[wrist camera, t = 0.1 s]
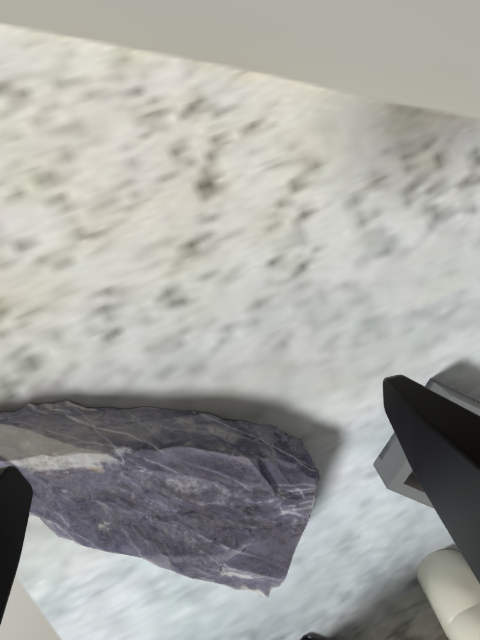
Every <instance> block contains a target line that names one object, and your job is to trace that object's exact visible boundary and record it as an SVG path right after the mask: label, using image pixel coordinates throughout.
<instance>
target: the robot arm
mask: <svg viewBox="0 0 480 640" xmlns="http://www.w3.org/2000/svg"><path fill="white" fill-rule="evenodd" d="M383 399H384V408H385V411H386V414H387V416H388V419H389V421H390V423H391V425H392V427H393V430H394V432H395V434H396V436H397V438H398V440H399V443H400V445H401V447H402V449H403V451H404V454H405V456H406V458H407V460H408V462H409V464H410V466H411V469H412V471H413V473H414V475H415V476H416V478H417V480H418V482H419V483H420V485H421V487H422V489H423V490H424V492H425V494H426V495H427V497H428V499H429V500H430V502H431V504H432V505H433V507H434V509H435V510H436V512H437V514H438V515H439V517H440V519H441V520H442V522H443V524H444V525H445V527H446V529H447V530H448V532H449V534H450V535H451V537H452V539H453V540H454V542H455V544H456V545H457V547H458V549H459V550H460V552H461V554H462V555H463V557H464V559H465V560H466V562H467V564H468V565H469V567H470V569H471V570H472V572H473V574H474V575H475V577H476V579H477V580H478V582H479V584H480V416H479V415H477V414H476V413H474V412H472V411H470V410H468V409H466V408H464V407H462V406H460V405H459V404H457V403H455V402H453V401H451V400H449V399H447V398H445V397H443V396H442V395H440V394H438V393H436V392H434V391H432V390H430V389H428V388H426V387H425V386H423V385H421V384H419V383H417V382H415V381H413V380H411V379H409V378H408V377H406V376H404V375H395V376H391V377H387V378H385V379H384V380H383ZM32 498H33V489H32V486H31V484H30V483H29V482H28V480H27V479H26V478H25V477H24V475H23V474H22V473H21V472H20V471H19V469H18V468H17V467H15V466H11V465H10V466H6V467H1V468H0V624H1V621H2V618H3V615H4V611H5V608H6V605H7V601H8V598H9V595H10V591H11V588H12V585H13V581H14V578H15V575H16V571H17V568H18V564H19V560H20V556H21V551H22V547H23V542H24V537H25V532H26V527H27V522H28V517H29V512H30V508H31V503H32ZM302 640H312V639H309V638H304V639H302Z"/></svg>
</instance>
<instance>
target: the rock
mask: <svg viewBox="0 0 480 640" xmlns="http://www.w3.org/2000/svg"><path fill="white" fill-rule="evenodd" d="M10 465H11V466H15V467H17V468H18V469H19V471H20V472H21V473H22V474H23V475H24V477H25V478H26V479H27V480H28V482H29V483H30V484H31V486H32V489H33V498H32V503H31V508H30V512H29V515H34V516H37V517H39V518H40V519H41V520H42V521H43V522H44V523H45V524H46V525H47V526H48V527H49V528H50V529H51V530H52V531H53V532H54V533H55V534H56V535H57V536H58V537H61V538H66V539H69V540H73V541H74V542H76V543H77V544H80V545H83V546H86V547H90V548H95V549H99V550H102V551H106V552H112V553H118V554H125V555H130V556H135V557H140V558H143V559H145V560H147V561H149V562H151V563H153V564H155V565H157V566H159V567H162V568H165V569H169V570H171V571H174V572H176V573H178V574H181V575H184V576H187V577H189V578H194V579H200V580H204V581H210V582H215V583H218V584H223V585H226V586H229V587H231V588H233V589H237V590H250V591H255V592H257V593H258V594H259V595H262V596H265V597H269V594H270V590H271V588H273V587H278V586H280V585H281V584H282V583H283V581H284V580H285V578H286V576H287V573H288V570H289V566H290V563H291V560H292V557H293V554H294V551H295V549H296V547H297V545H298V542H299V540H300V538H301V536H302V533H303V531H304V529H305V527H306V525H307V523H308V521H309V519H310V513H311V511H312V508H313V505H314V502H315V498H316V497H315V491H316V488H317V481H318V480H319V471H318V469H317V468H316V467H315V465H314V463H313V460H312V458H311V457H310V455H309V453H308V452H307V451H306V449H304V447H303V445H302V442H301V440H299V439H297V438H295V437H293V436H290V435H288V434H285V433H283V432H281V431H280V430H278V429H277V428H276V427H274V426H272V425H259V424H254V423H250V422H247V421H243V420H226V419H221V418H219V417H217V416H214V415H211V414H206V413H196V411H181V410H173V409H161V408H155V407H150V406H146V407H136V408H133V409H117V408H86V407H83V406H80V405H76V404H74V403H72V402H70V401H68V400H65V401H61V402H56V403H46V404H42V405H34V404H29V403H28V404H27V405H26V406H25V407H24V408H21V409H19V410H17V411H16V412H10V413H9V412H0V468H1V467H6V466H10Z"/></svg>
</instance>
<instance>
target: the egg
mask: <svg viewBox="0 0 480 640" xmlns="http://www.w3.org/2000/svg"><path fill="white" fill-rule="evenodd" d="M417 579H418V582H419V584H420V585H421V587H422V589H423V591H424V593H425V595H426V597H427V599H428V601H429V603H430V605H431V607H432V608H433V610H434V612H435V614H436V616H437V618H438V620H439V622H440V624H441V626H442V628H443V630H444V631H445V633H446V635H447V637H448V639H449V640H480V584H479V582H478V580H477V579H476V577H475V575H474V574H473V572H472V570H471V569H470V567H469V565H468V564H467V562H466V560H465V559H464V557H463V555H462V554H461V552H459V551H456V550H440V551H437V552H434V553H432V554H430V555H428V556H427V557H426V558H425V559H424V560H423V561H422V562H421V563H420V565H419V567H418V569H417Z"/></svg>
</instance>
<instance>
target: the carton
mask: <svg viewBox="0 0 480 640" xmlns="http://www.w3.org/2000/svg"><path fill="white" fill-rule="evenodd" d="M425 387H426V388H428V389H430V390H432V391H434V392H436V393H438V394H440V395H442V396H443V397H445V398H447V399H449V400H451V401H453V402H455V403H457V404H459V405H460V406H462V407H464V408H466V409H468V410H470V411H472V412H474V413H476V414H477V415H479V416H480V403H479V402H477V401H475V400H473V399H471V398H468V397H466V396H464V395H462V394H460V393H458V392H456V391H454V390H452V389H450V388H448V387H446V386H443V385H441V384H439V383H437V382H435V381H433V380H431V379H430V380H429V382H428V383H427V385H426V386H425ZM373 465H374V467H375V469H376V470H377V472H378V474H379V476H380V477H381V479H382V481H383V482H384V484H385V486H386V488H387V489H389V490H392V491H394V492H397V493H399V494H401V495H404V496H406V497H408V498H411V499H413V500H415V501H418V502H420V503H423V504H425V505H427V506H430V507H432V508H434V507H433V505H432V504H431V502H430V500H429V499H428V497H427V495H426V494H425V492H424V490H423V489H422V487H421V485H420V483H419V482H418V480H417V478H416V476H415V475H414V473H413V471H412V469H411V466H410V464H409V462H408V460H407V458H406V456H405V454H404V451H403V449H402V447H401V445H400V443H399V440H398V438H397V436H396V434H395V433H394V434H393V436H392V437H391V439H390V440H389V442H388V443H387V445H386V446H385V448H384V449H383V451H382V452H381V454H380V455H379V457H378V458H377V460H376V461H375V463H374V464H373Z"/></svg>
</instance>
